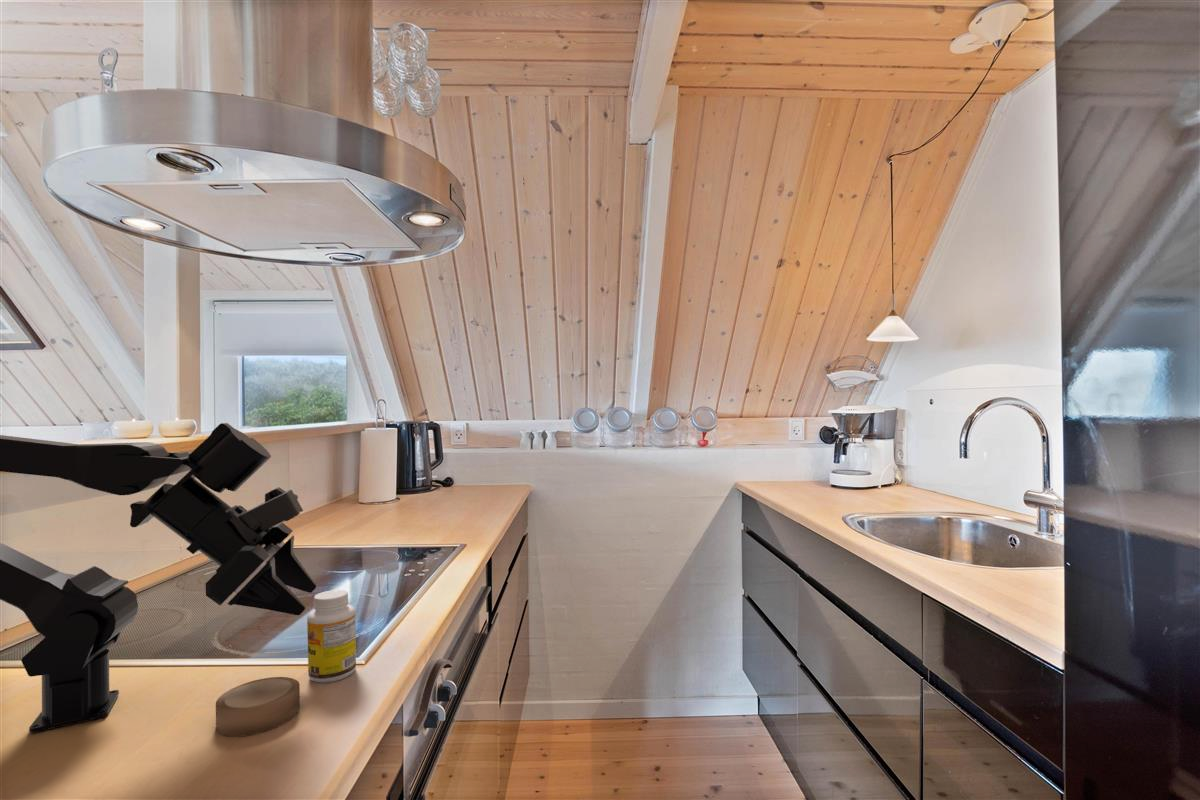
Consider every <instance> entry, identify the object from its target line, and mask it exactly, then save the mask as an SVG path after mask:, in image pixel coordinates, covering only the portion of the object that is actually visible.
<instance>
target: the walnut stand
mask: <svg viewBox="0 0 1200 800" xmlns="http://www.w3.org/2000/svg"><path fill="white" fill-rule="evenodd" d="M300 687H301V686H300V683H299V681H298V680H297V679H296V678H292V677H289V676H286V677H285V676H273V677H266V678H265V677H264V678H260V679H255V680H251V681H248V682H245V683H242V684H240V685H237V686H235V687H232V688H230V689H228V690H227V691H225V692H223V693H222V694H221V695H220V696H219V697H218V698H217V700H216V702H215V729H216V732H217V733H218V734H219V735H222V736H225V737H245V736H247V737H248V736H252V735H257V734H261V733H264V732H268V731H271V730H273V729H275V728H278V727H279V726H282V725H284V724H286V723H287V722H290V721H291V720H292V719H293V718H294V717H296V715H297V714H298V713H299V711H300V708H301V703H300V701H301V700H300V698H301V697H300V695H301V694H300V693H301V692H300Z"/></svg>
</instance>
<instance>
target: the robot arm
mask: <svg viewBox="0 0 1200 800" xmlns="http://www.w3.org/2000/svg"><path fill="white" fill-rule="evenodd" d="M271 457H272V455H271V454H270V451H268V450H267V449H266V448H265V447H264V446H263V445H262V444H261V443H260V442H259V441H257V440H256V439H255V438H254V437H250V436H248V435H246V434H245V433H244V432H242V431H240V430H238V429H236V428H235V427H233V426H232V425H231V424H229V423H228V422H224V423H223V422H222V423H219V424H218V425H217V426H216V427H214V429H213V430H212V432H211V433H210V434H209V436H207V437H206V438H205V440H203V441H202V442H201V443H200V444H199V445H198V446H197V447H195V449H194V450H193V451H191V452H188V451H185V452H171V451H170V452H169V451H168V450H167V449H166V448H165V447H164V446H163V445H161V444H158V443H155V442H147V441H146V442H145V441H144V442H114V443H113V442H112V443H111V442H110V443H108V442H107V443H80V444H79V443H70V442H63V441H53V440H47V439H46V440H45V439H36V438H28V437H20V436H12V435H11V436H10V435H3V434H0V472H2V473H12V474H22V475H30V476H41V477H42V476H43V477H49V478H51V477H52V478H58V479H61V480H62V479H63V480H65V481H66V480H67V481H70V482H72V483H74V484H77V485H80V486H81V487H84V488H86V489H87V488H88V489H91V490H96V491H100V492H103V493H108V494H111V495H117V496H131V495H134V494H138V493H140V492H141V493H142V492H144V491H148V490H152V489H155V488H157V487H159V486H160V485H162V486H160V487H159V488H158V489H157V490H156V491H155V492H154V493H153V494H152V495H151V496H149V497H148V498H147V499H146V500H139V501H135V502H132V503H130V506H129V507H130V510H131V516H130V522H129V526H130V527H131V528H137V527H139V526H142V525H144V524H147V523H149V522H150V521H151V520H152V519H153V518H155V519H156V520H157V521H159V522H160V523H161V524H163V526H165V527H167V528H168V529H170V530H171V531H172V532H173V533H174V534H176V535H177V536H179V538H181V539H182V540H184V541H185V542H187V544H189V545H188V546H187V547H186V548H185V550H187V551H188V552H190V554H192V555H194V554H196V553H197V552H200V553H201V554H203V556H205V557H206V558H208V559H209V560H211V561H212V562H213V563H215V564H216V565H217V566H219V567H217V569H216V570H215V572H216V573H214V574H213V576H212V577H211V578H209V579H208V580H207V581H206V582H205V597H207V598H209V599H210V600H212V601H213V602H214V603H216V604H217V605H218V606H222V604H224V602H225V601H226V600H228V599H229V597H230V596H232V594H233V593H234V592H235V595H234V596H233V597H232V598H231V599H230V600H229V601H228V602H227V603H226V605H228V606H232V607H233V606H234V605H235V606H242V607H249V608H256V609H262V610H265V611H266V610H268V611H273V612H278V613H283V614H289V615H294V616H301V614H302V613H304V612H305V610H306V606H305V604H304V603H303V602H302V601H301V600H300V599H299V597H297V595H295V593H294V592H293V591H292V590H291V589H290V588H289V587H291V588H293V589H296V590H300V591H303V592H307V593H309V594H312V593H313V591H315V590H316V588H317V584H316V583H315V580H313V578H312V577H311V576H310V574H309V573H308V572H307V570H306V569H305V567H304V566H303V564H302V563H301V562H300V560H299V559H298V557H297V556H296V555H295V553H294V541H295V536H294V535H293V534H292V533H293V532H294V531H293V530H292V529H291V528H290V527H289V526H287V525H286V524H285V523H284V522H288V521H290V520H292V519H293V518H296V517H297V516H299V515H301V514H300V513H301V512H303V511H304V509H303V508H302V506H301V503H300V502H299V500H298V499H299V496H298V495H297V494H295V493H294V491H293V489H288V490H284V489H282V487H276V488H274V489H271V490H270V491H268V492H266V493H265V494H264V502H262V503H260V504H258V505H256V506H254V507H253V508H250V509H248V510H247V509H246V508H245V507H243V506H242V505H233V506H232V507H231V506H230V505H229V504H228V503H227V502H225V501H224V500H222V499H221V498H220V497H219V496H218V495H216V494H215V493H214V492H216V493H217V494H218V493H219V494H221V493H222V492H224V491H225V490H228V491H229V492H230V491H231V492H236V491H238V490H239V488H240V487H242V486H243V485H244V484H245V483H246V482H247V480H249V479H250V478H251V477H252V476H254V474H255V473H256V472H257V471H258V470H259V469H260V468H261V467H262V466H263V465H265V463H267V461H269V460H270V459H271ZM185 472H187V473H186V474H184V476H183V477H181V479H180V480H178V481H177V482H176V483H175V484H172V483H165V482H166V480H167V479H168V478H169V477H171V476H174V475H178V474H182V473H185ZM163 483H164V484H163ZM209 489H210V490H209ZM212 491H213V492H212ZM291 534H292V536H291V537H289V536H290V535H291ZM288 537H289V539H287V538H288ZM286 539H287V541H286ZM284 541H286V542H284ZM128 584H129V581H128V580H125V579H119V578H117V577H113V576H111V575H110V574H109V573H107V572H106V571H105V570H103V568H100V567H97V566H92V567H89V568H86V569H85V570H83V571H80V572H79V573H77V574H72V573H67V572H66V573H65V572H61V571H59V570H57V569H55V568H53V567H50V566H49V565H48V564H47V565H46V564H45V563H43V562H41V561H39V560H37V559H35V558H33V557H30V556H28V555H27V554H24V553H22V552H21V551H19V550H16V549H14V548H13V547H10V546H8V545H6V544H4V543H3V542H0V601H2V602H5V603H7V604H9V605H10V606H13V607H15V608H17V609H18V610H20V611H21V612H23V613H24V615H25V616H26V618H27V619H28V621H29V623H31V626H32V627H33V629H34V630H35V631H36V632H37V633H38V634H39V635H41V636H42V637H43V639H41V641H39V642H38V643H37V644H36V645H35V646H34V647H32V649H30V650H29V651H28V652H27V653H26V654H25V655H24V656H23V657H22V658H21V663H22V665H23V668H24V670H25V671H26V673H27V676H29V677H30V678H31V677H38V676H41V711H40V713H39V714H38V716H37V717H36V718H35V720H34V721H33V722H32V723H31V725H30V726H28V727H29V728H28V732H29V733H32V734H33V733H36V732H41V731H45V730H52V729H54V728H59V727H64V726H69V725H73V724H77V723H78V724H79V723H82V722H86V721H87V722H88V721H91V720H96V719H101V718H104V717H107V716H108V715H109V713H110V711H111V709H112V707H113V706H114V705H115V702H116V700H117V698H118V696H119V693H120V692H119V691H120V690H119V689H114V690H110V650H109V647H110V646H111V645H113V644H115V643H117V642H118V640H119V638H120V636H121V633H122V632H123V630H124V629H125V628H127V627H128V626H129V625H130V624H131V623H132V622H133V621H134V619H135V618H136V616H137V614H138V609H139V603H138V596H137V593H136V592H134V590H132V589H130V588H129V587H127V586H125V585H128Z"/></svg>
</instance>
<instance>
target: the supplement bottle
mask: <svg viewBox="0 0 1200 800" xmlns="http://www.w3.org/2000/svg"><path fill="white" fill-rule="evenodd" d="M306 630H307V665H308V666H307V669H308V670H307V671H308V678H309V679H310V680H311V681H313V682H316V683H323V684H325V683H326V684H327V683H333V682H337V681H340V680H342V679H345V678H347V677H349V676H350V675H352V674H353V673H354V671H355V670H356V668H357V667H356V666H357V647H356V646H357V645H356V640H357V639H356V609H355V607H354V606H353V605H352V604H350V603H349V592H348V591H347V590H344V589H332V590H326V591H322V592H319V593H317V594H315V595H314V598H313V610H311V611H310V612H309V613H308V614H307V629H306Z"/></svg>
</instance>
